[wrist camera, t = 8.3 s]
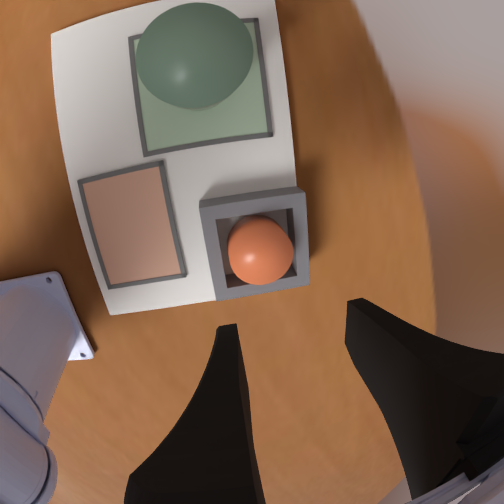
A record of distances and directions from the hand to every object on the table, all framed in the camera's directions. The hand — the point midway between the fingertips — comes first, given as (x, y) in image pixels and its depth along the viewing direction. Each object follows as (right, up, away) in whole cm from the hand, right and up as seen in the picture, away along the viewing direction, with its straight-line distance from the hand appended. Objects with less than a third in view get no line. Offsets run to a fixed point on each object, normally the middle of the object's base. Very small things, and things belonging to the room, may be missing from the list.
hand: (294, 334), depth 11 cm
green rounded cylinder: (-4, +13, +4) cm, 14 cm away
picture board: (-6, +9, +7) cm, 13 cm away
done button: (-1, +4, +8) cm, 9 cm away
